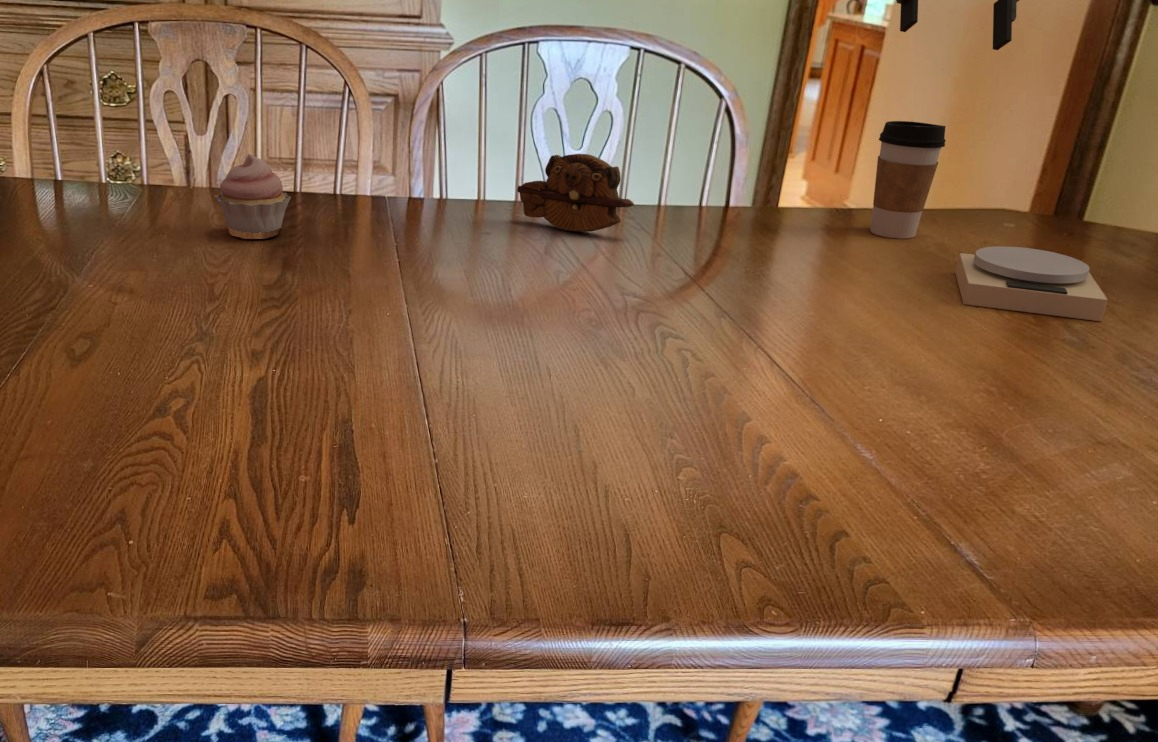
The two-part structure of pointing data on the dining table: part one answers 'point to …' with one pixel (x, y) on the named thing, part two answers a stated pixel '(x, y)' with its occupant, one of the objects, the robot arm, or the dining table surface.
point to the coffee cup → (904, 176)
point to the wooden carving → (575, 193)
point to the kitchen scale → (1029, 282)
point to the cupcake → (252, 197)
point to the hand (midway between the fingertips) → (955, 36)
